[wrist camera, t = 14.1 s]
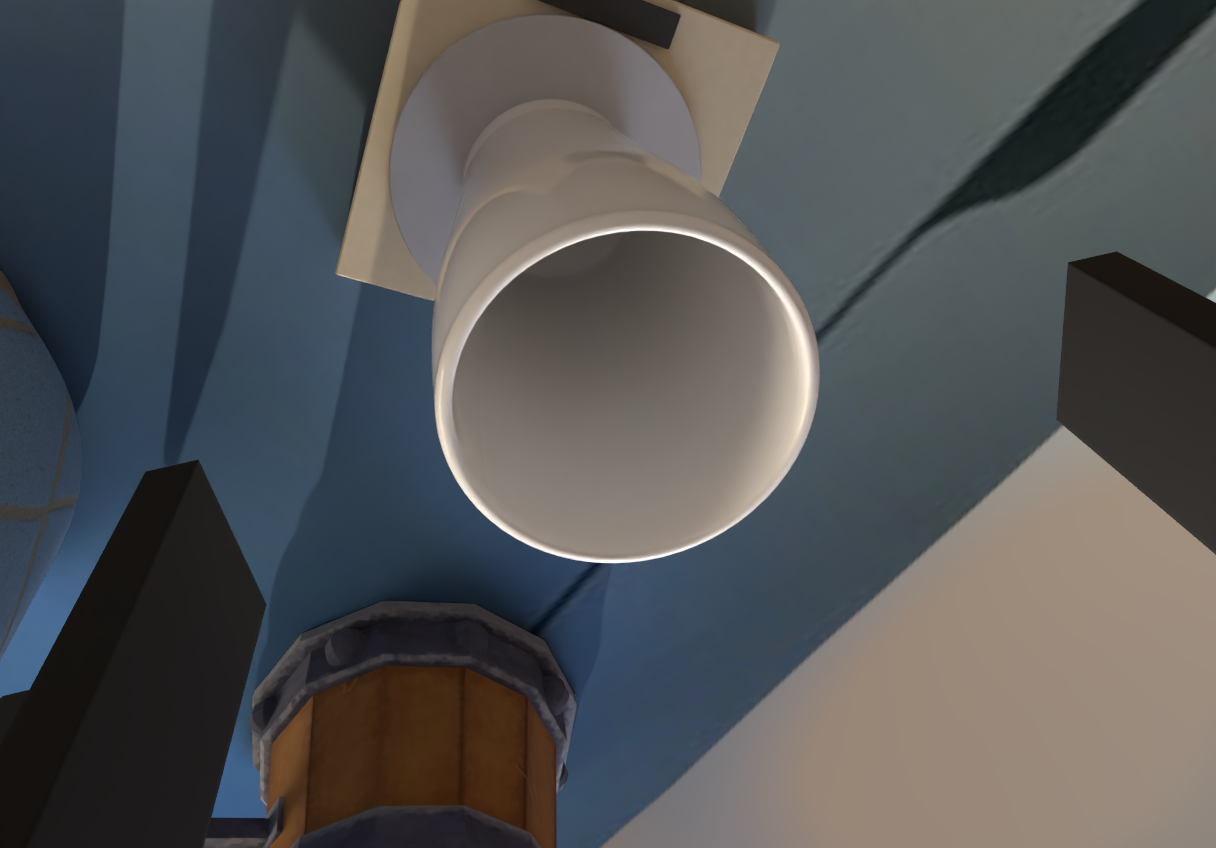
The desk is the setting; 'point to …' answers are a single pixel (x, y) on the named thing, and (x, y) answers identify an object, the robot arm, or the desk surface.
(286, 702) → the mug
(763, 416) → the drinking glass
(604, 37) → the scale
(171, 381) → the desk surface
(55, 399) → the planter
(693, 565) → the desk surface
